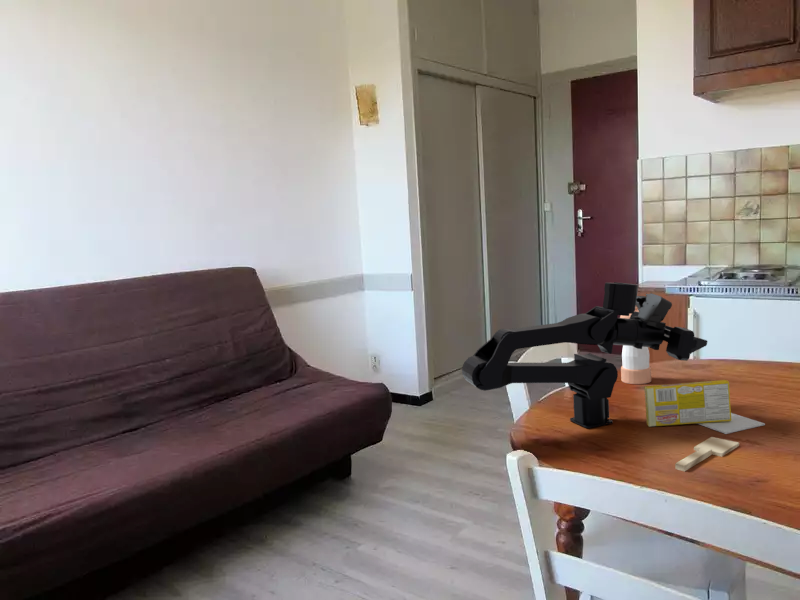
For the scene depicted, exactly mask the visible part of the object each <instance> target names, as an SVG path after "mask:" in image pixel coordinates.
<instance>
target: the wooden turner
mask: <svg viewBox="0 0 800 600" xmlns="http://www.w3.org/2000/svg"><path fill="white" fill-rule="evenodd" d="M738 447H740V442H738V441H733V440H730V439H724V438H719V437H714V436H711V437H708V438H707V439H706V440H704V441H702V442H700V443H699V444H697V445H695V446H694V447H693V451H694V452H693V453H691V454H688V455H687V456H686V457H684V458H683V459H681V460H679V461H677V462H676V463H675V465H674V466H675V468H674V469H675V470H678V471H682V472H686V471H688V470H689V469H691V468H693V467H694V466H696V465H698V464H699V463H700V462H702V461H704V460H706V459H707V458H709V457H711V456H712V455H713V456H717V457H721V458H722V457H724V456H725V455H727V454H729V453H730V452H732V451H733V450H735V449H736V448H738Z"/></svg>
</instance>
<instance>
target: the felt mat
mask: <svg viewBox="0 0 800 600" xmlns="http://www.w3.org/2000/svg"><path fill="white" fill-rule="evenodd" d="M695 424H696V425H700V426H702V427H705V428H708V429H711V430H712V431H713V430H714V431H716V432H719V433H722V434H725V435H727V434H732V433H736V432H740V431H745V430H749V429H754V428H757V427H758V428H759V427H762V426H765V425H766V423H764V422H761V421H758V420H756V419H752V418H749V417H746V416H742V415H739V414H736V413H733V412H731V421H723V422H709V423H695Z"/></svg>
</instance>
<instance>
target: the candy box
mask: <svg viewBox="0 0 800 600" xmlns="http://www.w3.org/2000/svg"><path fill="white" fill-rule="evenodd" d="M643 389H644V400H645V418H646V421H645V422H646V425H647V426H648V427H649V428H651V427H662V426H679V425H691V424H696V423H709V422H723V421H731V413H732V409H731V408H732V407H731V395H730V394H731V393H730V392H731V391H730V381H729V380H727V379H720V380H719V379H717V380H707V381H694V382H682V383H681V382H680V383H669V384H658V385H657V384H656V385H644V387H643Z"/></svg>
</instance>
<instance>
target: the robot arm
mask: <svg viewBox="0 0 800 600" xmlns="http://www.w3.org/2000/svg"><path fill="white" fill-rule="evenodd" d="M638 291H639V284H634V283H624V282H618V281H617V282H605V283H604V295H603V301H602V306H599V305H598V306H597V305H596V306H594V307H592V308H591V309H590V310H588V311H587V312H585V313H579V314H576V315H572V316H569V317H566V318H565V319H564V320H563V319H562V320H561V321H558V322H555V323H548V324H547V323H546V324H540V325H532V326H531V325H529V326H523V327H515V328H509V329H508V328H500V329H497V331H496V332H494V334H493V335H492V336H491V338H490V339H489V340H488V341H487V342H485V343H484V344H483V345H481V346H480V347H479V348H478V349H477V350H476V351H475V353H474V354H473V355H470V356H468V357H467V359H466V360H465V361H464V363H463V364H462V368H461V373H462V376H463V379H465V381H466V382H468V383H470V385H472V386H474V387H475V388H477V389H479V390H480V391H484V392H486V391H492V390H496V389H502V388H504V387H506V386H509V385H511V384H567V385H568V388H569V391H572V392H575V393H573V399H572V400H573V417H570V418H569V421H570V422H573V423H574V424H576V425H579V426H582V427H584V428H585V429H592V428H595V427H600V426H608V425H611V424H613V420H612V419H610V404H609V403H610V401H609V398H611V397H612V393H613V390H614V388H615V384H616V382H617V380H618V377H619V375H618V373H619V372H618V369H617V367H616V366H615V365H614V364H613V363H612V362H610V361H607V358H604V357H601V356H598V355H596V354H592V353H586V354H578V353H574V354H573V360H570V361H568V362H510V360H511V358H512V355H513V353H514V352H515V351H516V350H520V349H526V348H527V349H528V348H534V347H541V346H548V345H549V346H550V345H556V344H563V343H570V344H579V345H590V346H598V348H599V351H600V352H603V353H606V354H608V355H611V354H612V353H613V347H614V346H623V345H626V346H633V347H635V348H637V349H642V347H648V349H649V348H650V349H652V350H655V351H659V350H660V346H661V345H662V343H663V342H666V343H667V344H666V349H665V352H666V353H667V355H668V356H669V357H672V358H674V359H676V360H678V361H686V362H687V361H688V360H689V359H690V357H691V354H693V353H695V352H697V351H699V350H700V349H702V348H704V347H706V346H707V345H708V340H707V339H703V338H699V337H698V336H695V332H694V331H693V330H690V329H689V328H686V327H681V326H674V327H672V326H669V325H666V324H667V323H666V322H663V321H664V320H665V318H666V315H668V312H669V310H671V308H672V307H673V303H672V301H670V300H667V299H666V298H665V297H662V296H660V295H657V294H654V293H652V292H651V293H646V294H645V295H638V293H639V292H638ZM635 307H637V308H638V311H639V312H637V311H635ZM634 311H635V312H634ZM629 314H631V316H630V319H626V318H620V317H619V316H621V315H622V316H629Z"/></svg>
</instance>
